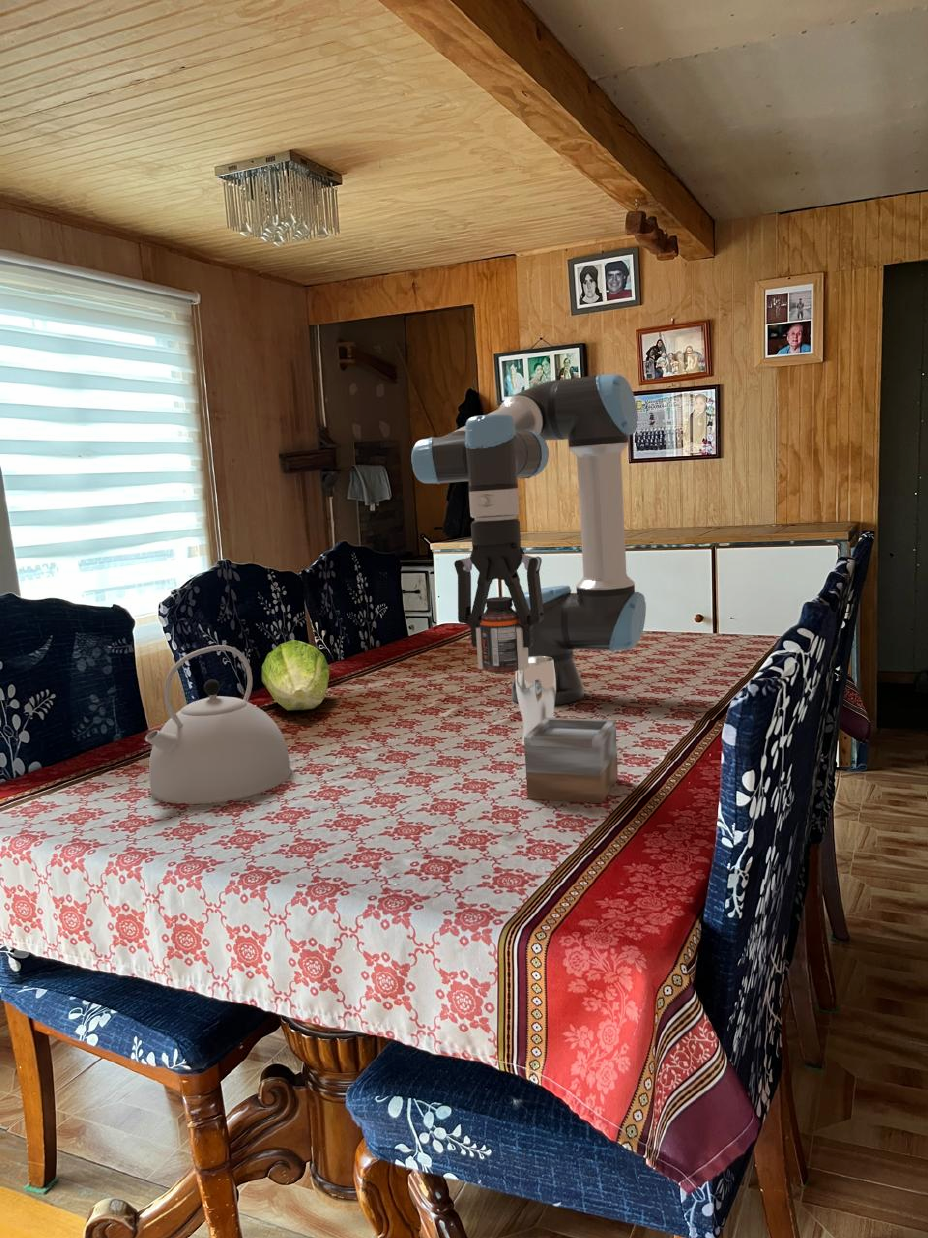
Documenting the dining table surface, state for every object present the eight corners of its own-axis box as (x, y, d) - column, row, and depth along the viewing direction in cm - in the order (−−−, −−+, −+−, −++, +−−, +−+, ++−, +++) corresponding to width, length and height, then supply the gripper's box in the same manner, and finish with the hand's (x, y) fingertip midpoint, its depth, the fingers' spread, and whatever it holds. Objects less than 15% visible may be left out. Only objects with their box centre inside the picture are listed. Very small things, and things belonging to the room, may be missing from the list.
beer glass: (562, 738, 166) (558, 655, 164) (553, 749, 159) (549, 663, 157) (525, 737, 168) (520, 655, 166) (514, 748, 162) (509, 663, 160)
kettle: (204, 818, 137) (187, 668, 134) (108, 797, 150) (91, 659, 147) (319, 768, 158) (307, 637, 154) (226, 754, 170) (213, 632, 167)
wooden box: (548, 774, 146) (545, 717, 145) (617, 778, 142) (615, 720, 141) (527, 798, 136) (523, 737, 135) (601, 803, 132) (598, 740, 131)
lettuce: (341, 723, 192) (268, 738, 189) (332, 690, 215) (267, 703, 212) (329, 656, 188) (254, 670, 185) (321, 629, 211) (255, 642, 209)
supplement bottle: (482, 668, 148) (478, 597, 146) (520, 665, 148) (516, 594, 147) (485, 675, 142) (481, 601, 141) (524, 672, 142) (520, 599, 141)
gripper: (428, 522, 142) (438, 671, 146) (546, 517, 135) (554, 674, 138) (448, 519, 149) (457, 662, 152) (562, 514, 142) (569, 664, 145)
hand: (503, 667), depth 145 cm, fingers closed on supplement bottle, 6 cm apart
